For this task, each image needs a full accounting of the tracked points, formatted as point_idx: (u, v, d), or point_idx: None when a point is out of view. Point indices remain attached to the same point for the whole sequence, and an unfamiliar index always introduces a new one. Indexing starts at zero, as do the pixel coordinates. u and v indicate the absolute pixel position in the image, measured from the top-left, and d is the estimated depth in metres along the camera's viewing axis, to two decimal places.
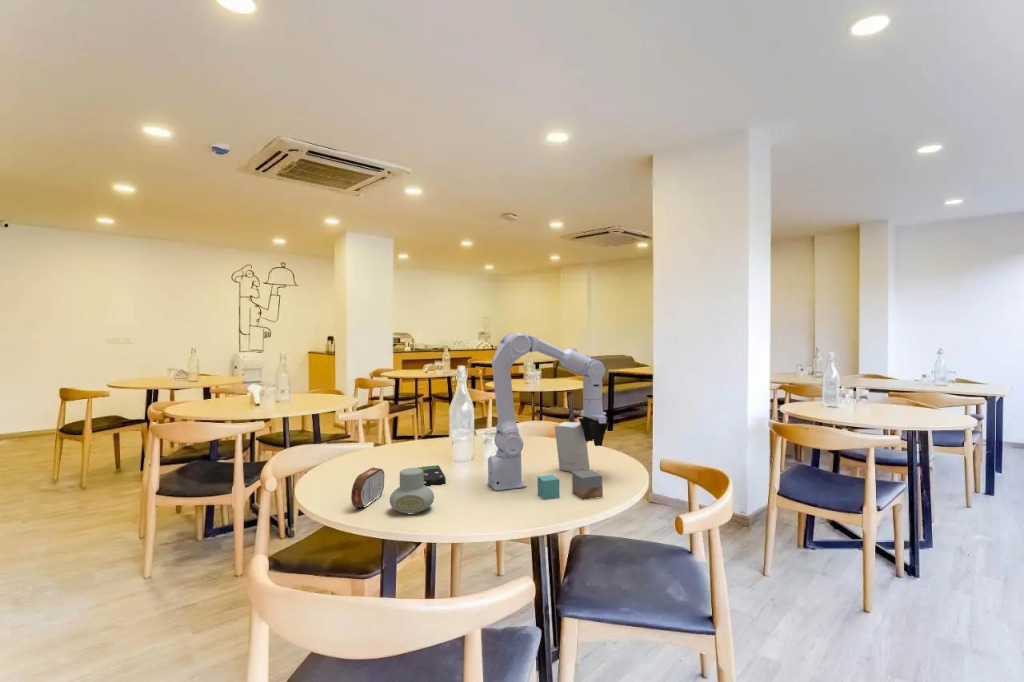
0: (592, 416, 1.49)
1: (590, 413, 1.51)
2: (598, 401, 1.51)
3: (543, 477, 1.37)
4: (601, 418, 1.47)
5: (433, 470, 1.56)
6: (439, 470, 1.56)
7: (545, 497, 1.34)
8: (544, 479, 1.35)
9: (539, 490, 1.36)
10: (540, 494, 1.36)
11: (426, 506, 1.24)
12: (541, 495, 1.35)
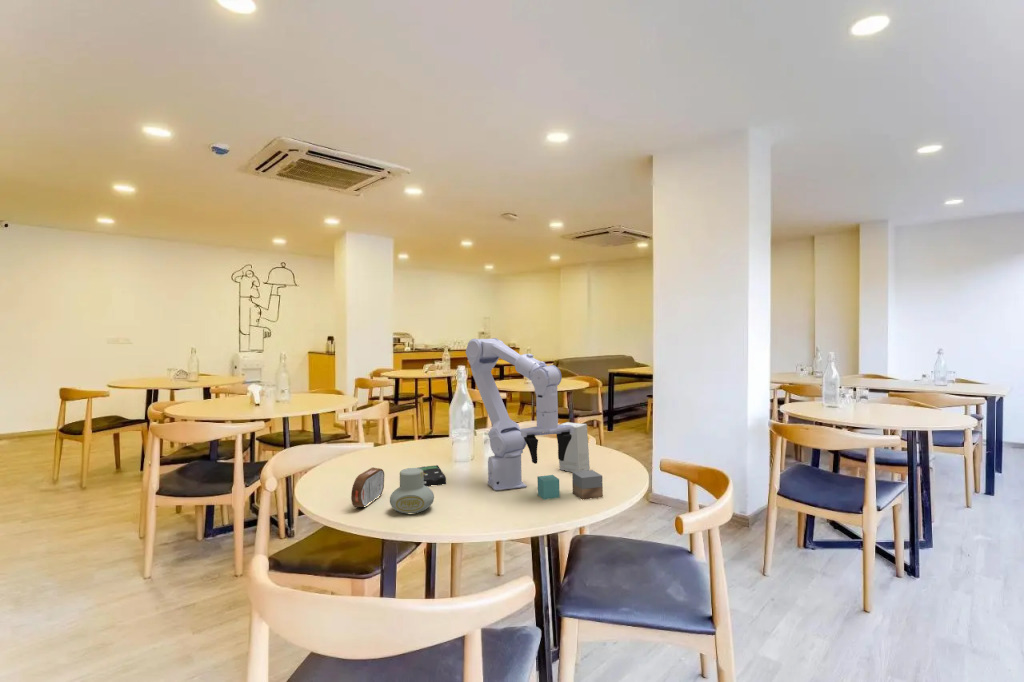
0: None
1: None
2: (538, 414, 1.35)
3: (543, 477, 1.37)
4: (521, 430, 1.34)
5: (433, 470, 1.56)
6: (439, 470, 1.56)
7: (545, 497, 1.34)
8: (544, 479, 1.35)
9: (539, 490, 1.36)
10: (540, 494, 1.36)
11: (426, 506, 1.24)
12: (541, 495, 1.35)
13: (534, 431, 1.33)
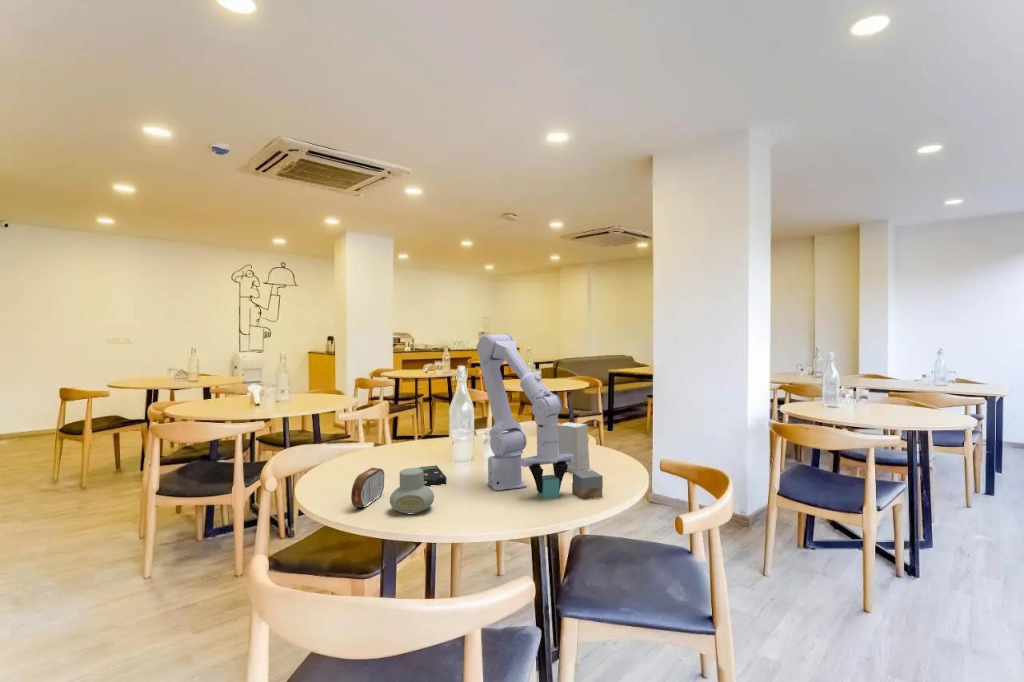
0: None
1: None
2: (538, 443, 1.35)
3: (543, 477, 1.37)
4: (521, 460, 1.34)
5: (432, 470, 1.57)
6: (438, 470, 1.57)
7: (545, 497, 1.34)
8: (544, 479, 1.35)
9: None
10: (540, 494, 1.36)
11: (426, 506, 1.24)
12: (541, 495, 1.35)
13: (535, 461, 1.33)
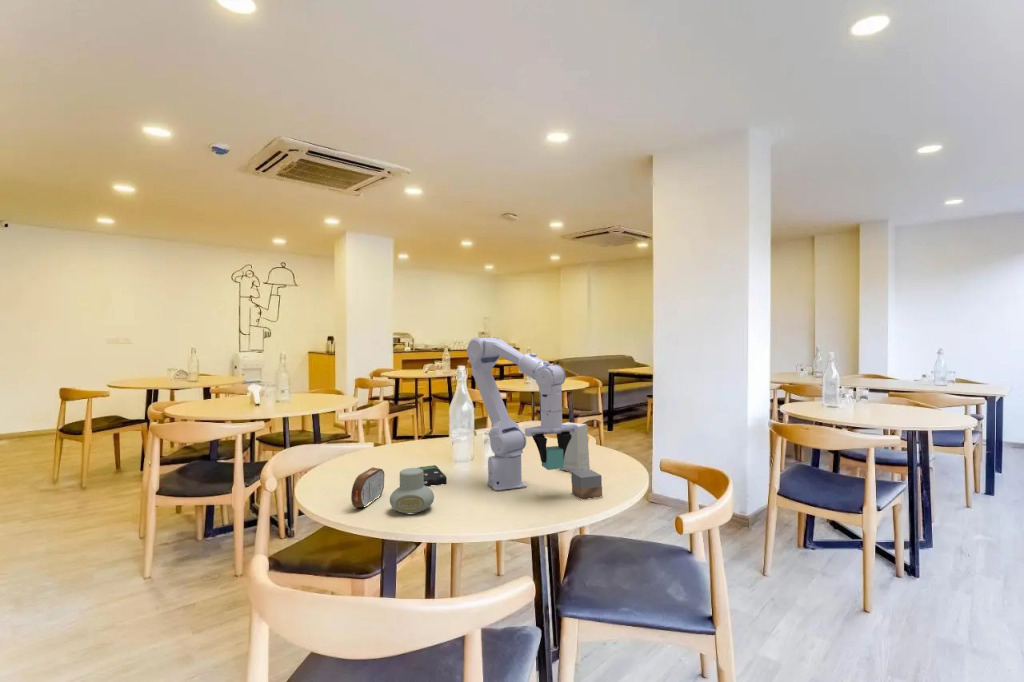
0: None
1: None
2: (542, 413, 1.35)
3: (547, 448, 1.36)
4: (525, 430, 1.34)
5: (432, 470, 1.57)
6: (438, 470, 1.57)
7: (549, 467, 1.33)
8: (548, 449, 1.35)
9: None
10: (544, 465, 1.36)
11: (426, 506, 1.24)
12: (545, 465, 1.35)
13: (538, 430, 1.33)
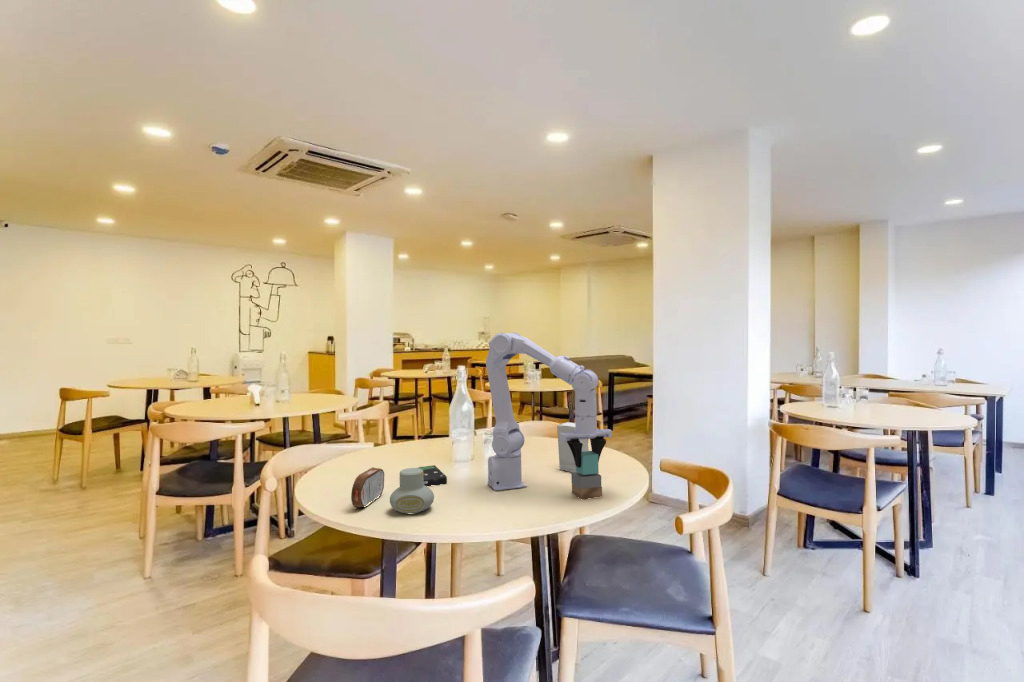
0: None
1: None
2: (577, 418, 1.35)
3: (582, 453, 1.37)
4: (560, 435, 1.34)
5: (431, 470, 1.57)
6: (437, 470, 1.57)
7: (584, 472, 1.34)
8: (583, 454, 1.35)
9: None
10: (579, 469, 1.36)
11: (426, 506, 1.24)
12: (580, 470, 1.35)
13: (574, 435, 1.33)
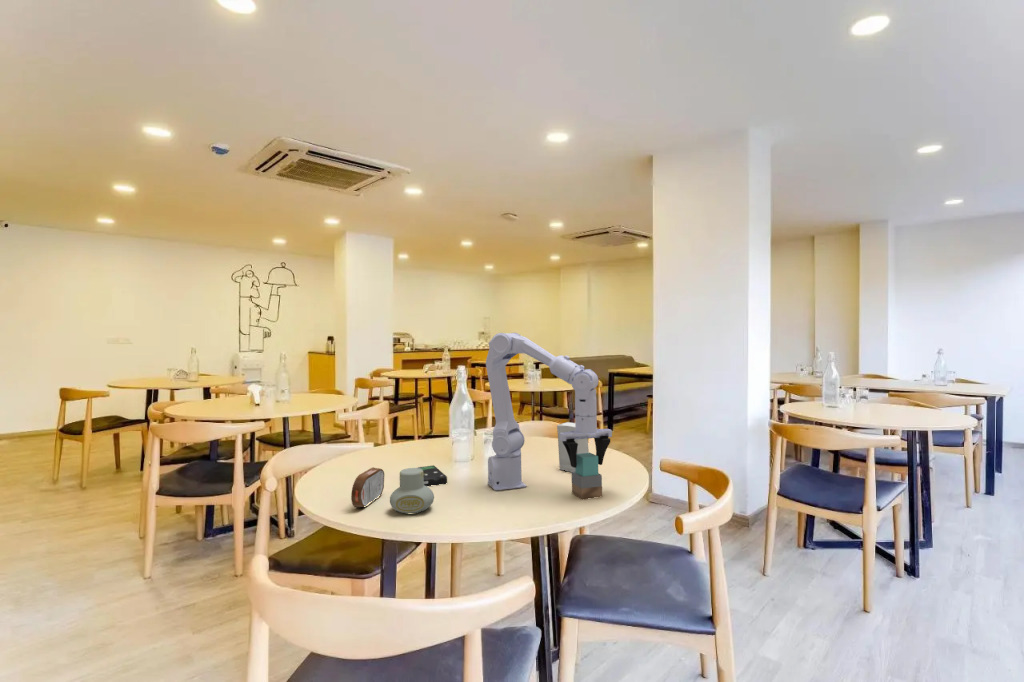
0: None
1: None
2: (577, 418, 1.35)
3: (581, 454, 1.37)
4: (560, 434, 1.34)
5: (431, 470, 1.57)
6: (437, 470, 1.57)
7: (585, 474, 1.33)
8: (583, 456, 1.35)
9: (577, 467, 1.36)
10: (579, 471, 1.36)
11: (426, 506, 1.24)
12: (580, 472, 1.35)
13: (574, 435, 1.33)
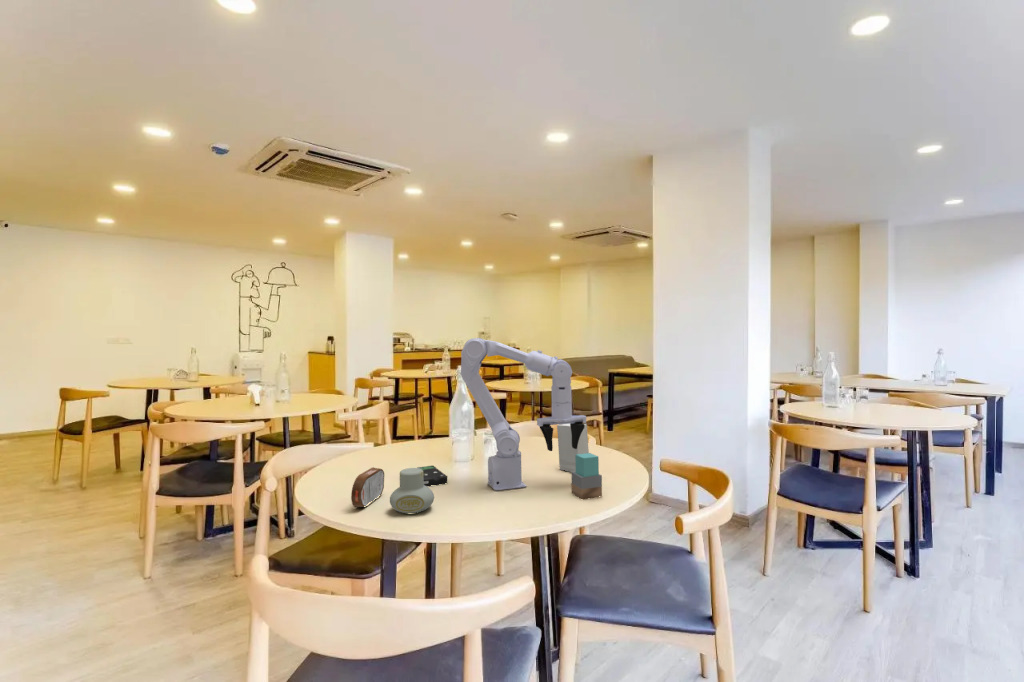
0: None
1: None
2: (553, 404, 1.44)
3: (581, 455, 1.37)
4: (537, 420, 1.44)
5: (431, 470, 1.57)
6: (437, 470, 1.57)
7: (585, 474, 1.34)
8: (583, 457, 1.35)
9: (578, 468, 1.36)
10: (579, 472, 1.36)
11: (426, 506, 1.24)
12: (580, 473, 1.35)
13: (549, 421, 1.43)
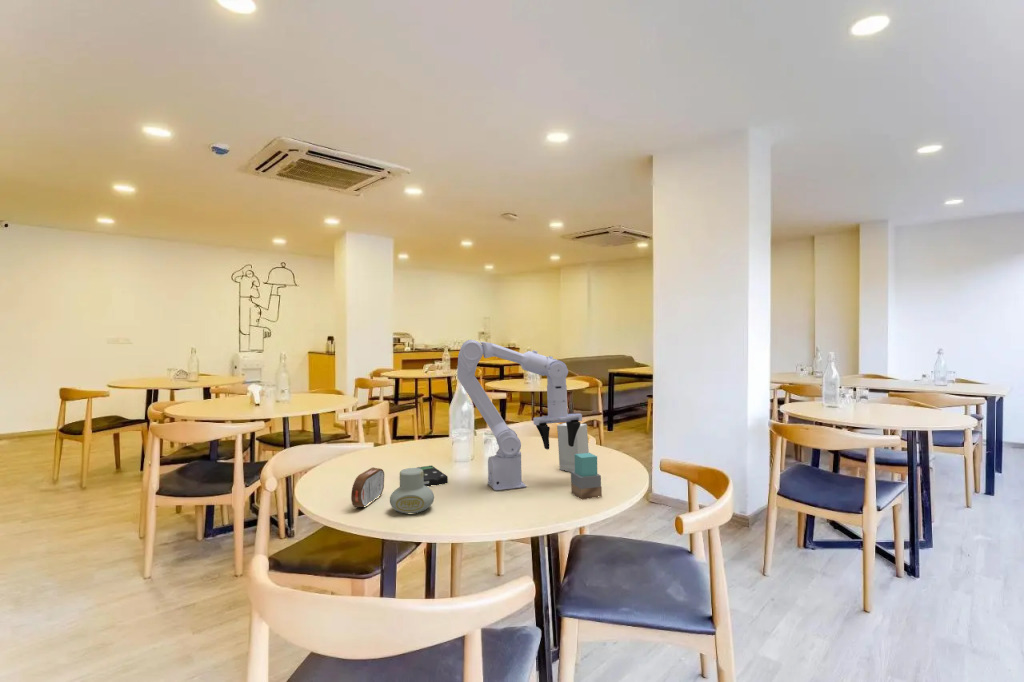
0: None
1: None
2: (549, 403, 1.46)
3: (580, 454, 1.37)
4: (534, 419, 1.46)
5: (430, 470, 1.57)
6: (436, 470, 1.57)
7: (583, 474, 1.34)
8: (582, 456, 1.35)
9: (576, 467, 1.37)
10: (578, 471, 1.36)
11: (426, 506, 1.24)
12: (579, 472, 1.35)
13: (546, 419, 1.45)
